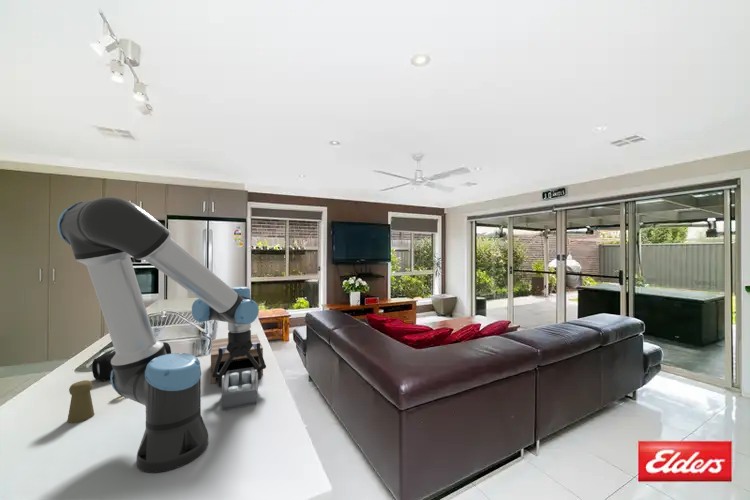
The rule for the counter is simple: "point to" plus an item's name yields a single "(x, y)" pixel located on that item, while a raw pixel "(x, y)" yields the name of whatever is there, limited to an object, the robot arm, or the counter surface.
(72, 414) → the cork
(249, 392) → the tray
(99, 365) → the portable speaker
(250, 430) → the counter surface
